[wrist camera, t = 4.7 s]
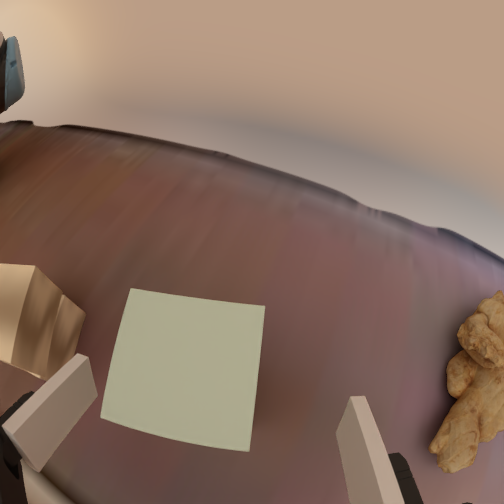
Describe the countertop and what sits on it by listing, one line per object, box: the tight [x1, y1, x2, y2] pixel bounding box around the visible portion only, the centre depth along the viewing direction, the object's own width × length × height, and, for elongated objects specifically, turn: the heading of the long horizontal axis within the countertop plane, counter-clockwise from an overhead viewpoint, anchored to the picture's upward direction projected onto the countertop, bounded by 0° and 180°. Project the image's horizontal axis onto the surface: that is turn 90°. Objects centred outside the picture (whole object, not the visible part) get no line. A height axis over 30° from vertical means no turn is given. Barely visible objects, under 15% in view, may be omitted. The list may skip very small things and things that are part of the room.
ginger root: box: [428, 291, 504, 473], centre depth 15 cm, size 16×16×8 cm
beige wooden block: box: [27, 295, 86, 381], centre depth 18 cm, size 7×7×4 cm
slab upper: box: [0, 264, 63, 377], centre depth 15 cm, size 7×7×4 cm
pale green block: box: [100, 288, 265, 452], centre depth 13 cm, size 5×5×12 cm
